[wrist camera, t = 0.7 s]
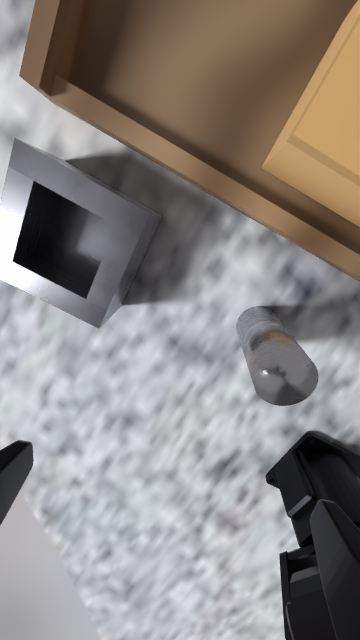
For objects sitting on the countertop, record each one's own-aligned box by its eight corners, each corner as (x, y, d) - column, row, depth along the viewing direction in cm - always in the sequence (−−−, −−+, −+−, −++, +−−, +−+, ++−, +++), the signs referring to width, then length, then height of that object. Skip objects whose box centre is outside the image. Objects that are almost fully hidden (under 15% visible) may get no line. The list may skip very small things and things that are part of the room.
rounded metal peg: (286, 318, 19) (332, 370, 12) (262, 351, 20) (292, 414, 13) (250, 299, 18) (277, 341, 12) (228, 332, 19) (241, 388, 13)
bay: (526, 75, 13) (614, 35, 10) (359, 281, 17) (389, 292, 14) (135, -210, 11) (112, -358, 8) (53, 103, 15) (19, 75, 12)
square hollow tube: (163, 216, 17) (149, 213, 13) (121, 305, 19) (99, 328, 15) (63, 160, 16) (14, 138, 12) (33, 260, 19) (-16, 271, 14)
